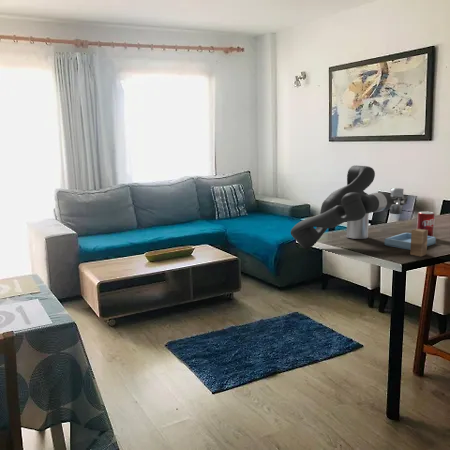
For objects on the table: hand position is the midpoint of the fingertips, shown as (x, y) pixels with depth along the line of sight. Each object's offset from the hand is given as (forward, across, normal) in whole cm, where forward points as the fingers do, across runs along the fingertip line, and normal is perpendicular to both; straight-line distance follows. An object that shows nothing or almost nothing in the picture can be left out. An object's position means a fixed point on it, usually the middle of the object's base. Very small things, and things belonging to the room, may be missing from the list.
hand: (399, 198), depth 208 cm
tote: (+11, 0, -22) cm, 24 cm away
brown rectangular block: (-3, +11, -22) cm, 24 cm away
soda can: (+27, -2, -22) cm, 35 cm away
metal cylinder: (-3, 0, -6) cm, 7 cm away
